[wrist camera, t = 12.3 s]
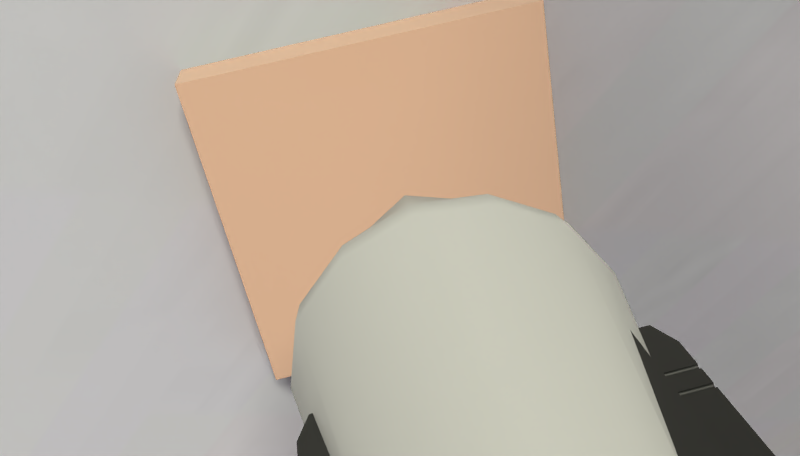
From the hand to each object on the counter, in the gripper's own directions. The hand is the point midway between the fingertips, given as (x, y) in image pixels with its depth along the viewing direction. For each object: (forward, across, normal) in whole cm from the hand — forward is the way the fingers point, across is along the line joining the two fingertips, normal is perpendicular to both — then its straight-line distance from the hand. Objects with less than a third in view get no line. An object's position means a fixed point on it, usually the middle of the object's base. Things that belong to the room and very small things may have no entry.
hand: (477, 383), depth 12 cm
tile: (+15, 0, -2) cm, 15 cm away
